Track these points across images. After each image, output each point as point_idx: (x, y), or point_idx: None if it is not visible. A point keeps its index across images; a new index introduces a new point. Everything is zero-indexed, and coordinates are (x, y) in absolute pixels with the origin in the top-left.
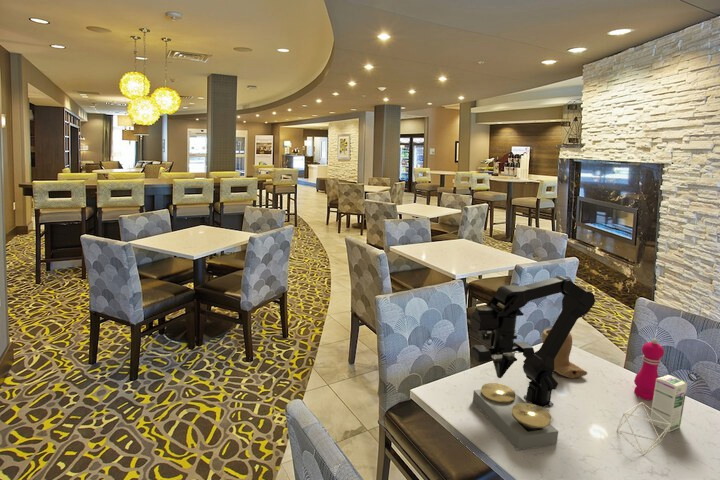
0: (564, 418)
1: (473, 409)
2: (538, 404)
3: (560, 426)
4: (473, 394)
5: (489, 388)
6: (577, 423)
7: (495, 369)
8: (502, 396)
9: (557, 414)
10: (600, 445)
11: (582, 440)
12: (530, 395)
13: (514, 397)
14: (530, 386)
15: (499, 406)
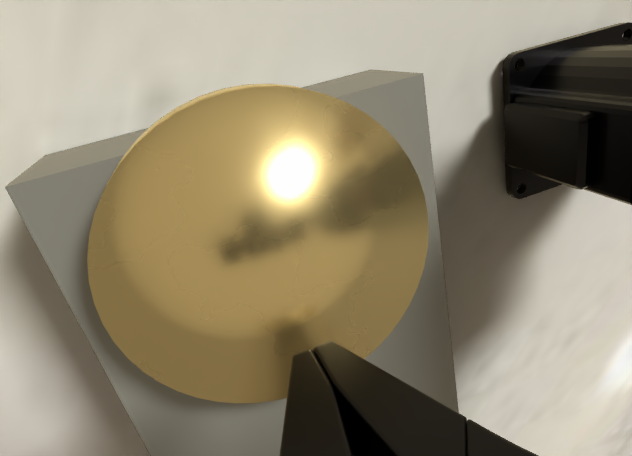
0: (583, 278)
1: (41, 270)
2: (537, 176)
3: (524, 348)
4: (22, 175)
5: (193, 221)
6: (610, 309)
7: (281, 453)
8: (286, 349)
9: (575, 247)
10: (587, 433)
11: (547, 422)
12: (539, 159)
13: (387, 330)
14: (604, 133)
15: (227, 417)
